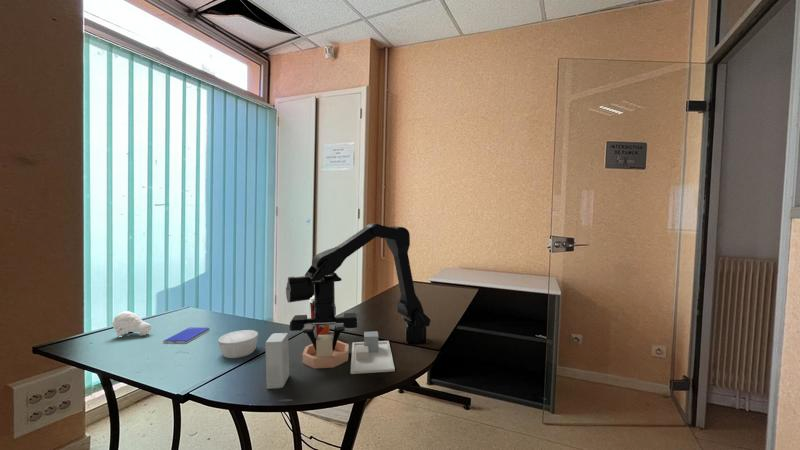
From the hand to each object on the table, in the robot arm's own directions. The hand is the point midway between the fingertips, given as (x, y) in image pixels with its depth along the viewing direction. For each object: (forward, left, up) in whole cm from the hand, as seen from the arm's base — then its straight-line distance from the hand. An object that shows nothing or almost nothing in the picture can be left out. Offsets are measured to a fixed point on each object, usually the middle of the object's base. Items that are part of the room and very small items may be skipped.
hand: (325, 350), depth 95 cm
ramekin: (+28, -11, -4) cm, 31 cm away
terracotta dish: (0, -3, -4) cm, 5 cm away
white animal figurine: (+71, -31, -4) cm, 78 cm away
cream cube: (0, 0, -1) cm, 1 cm away
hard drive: (+51, -28, -5) cm, 58 cm away
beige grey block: (-11, -2, -3) cm, 11 cm away
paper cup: (+4, -22, -4) cm, 23 cm away
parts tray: (-13, -2, -4) cm, 14 cm away
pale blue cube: (-13, -7, -3) cm, 16 cm away
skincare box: (+11, +10, -4) cm, 15 cm away
